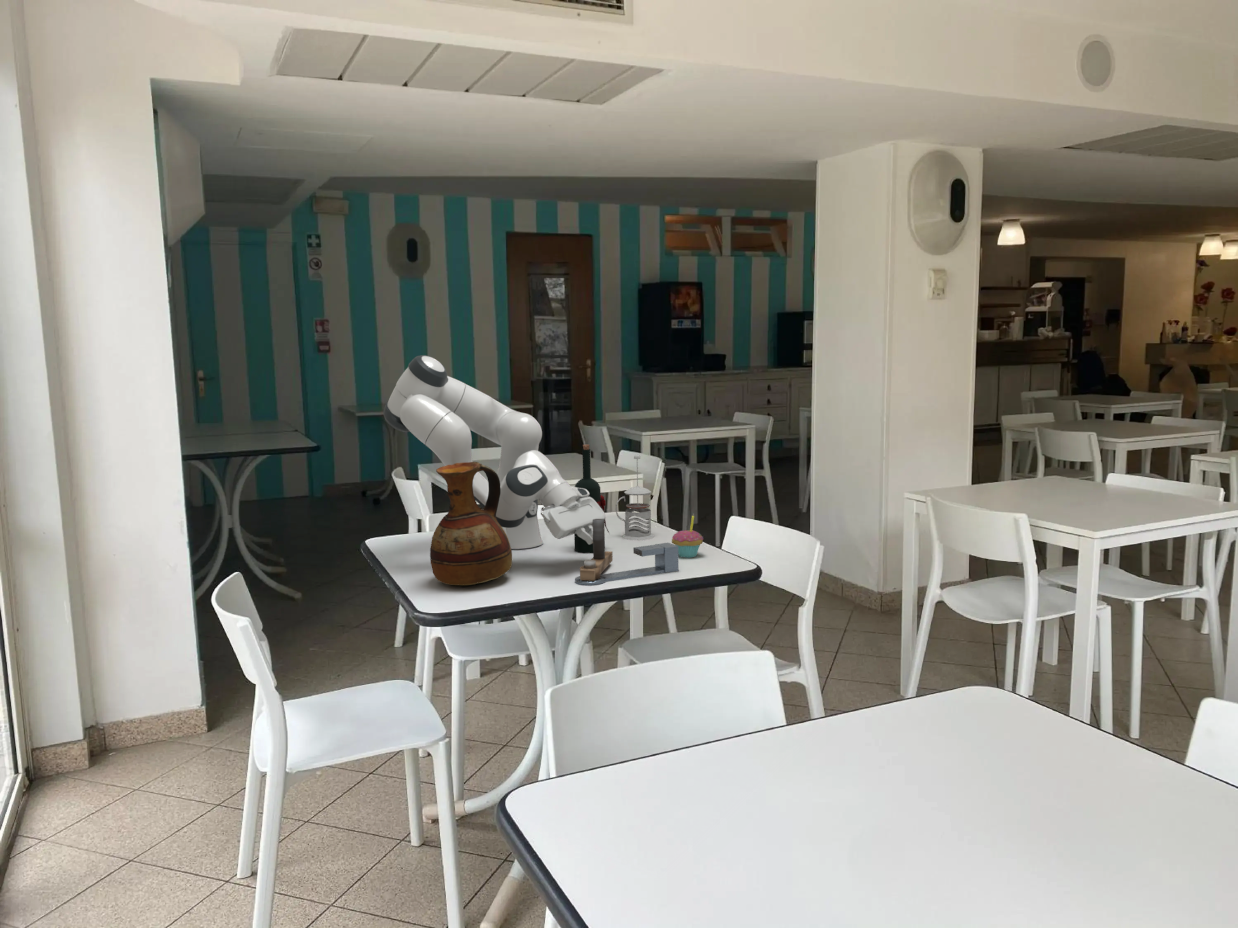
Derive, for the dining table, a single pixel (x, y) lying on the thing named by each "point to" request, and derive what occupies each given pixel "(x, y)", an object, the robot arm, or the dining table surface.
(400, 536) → the dining table surface
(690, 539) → the cupcake
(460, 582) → the ceramic pitcher
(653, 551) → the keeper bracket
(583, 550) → the wine bottle
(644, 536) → the french press
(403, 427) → the robot arm
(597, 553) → the walnut link
